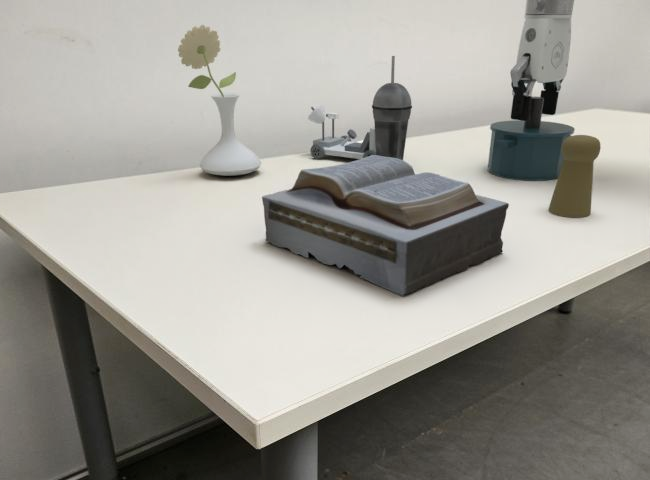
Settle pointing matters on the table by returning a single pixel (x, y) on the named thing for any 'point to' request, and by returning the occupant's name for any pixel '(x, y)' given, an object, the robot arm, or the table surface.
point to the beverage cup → (391, 118)
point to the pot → (525, 157)
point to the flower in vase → (229, 151)
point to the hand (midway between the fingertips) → (533, 116)
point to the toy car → (340, 140)
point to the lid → (533, 124)
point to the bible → (386, 222)
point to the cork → (575, 177)
